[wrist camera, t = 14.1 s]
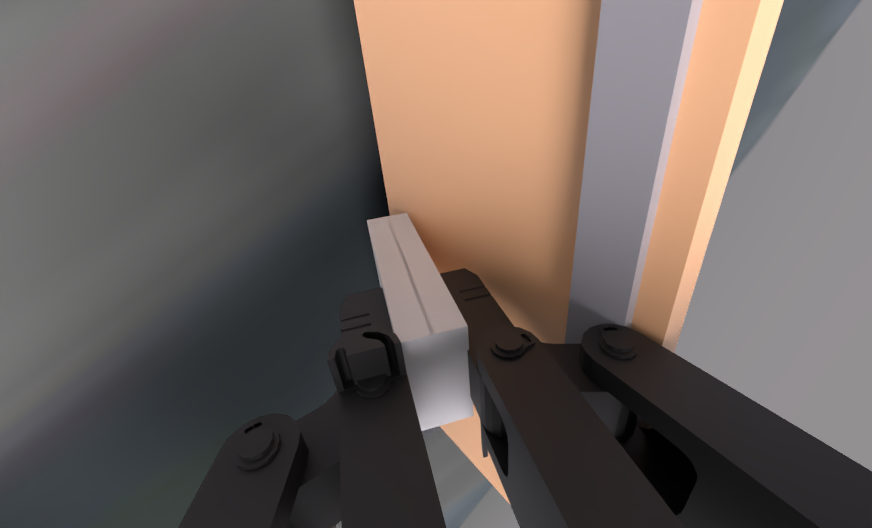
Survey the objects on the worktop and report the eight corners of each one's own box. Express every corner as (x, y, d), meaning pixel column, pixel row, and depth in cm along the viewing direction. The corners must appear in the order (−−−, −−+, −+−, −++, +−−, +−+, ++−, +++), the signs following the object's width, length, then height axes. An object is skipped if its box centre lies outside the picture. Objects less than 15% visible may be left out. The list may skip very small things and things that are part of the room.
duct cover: (433, 398, 20) (417, 409, 19) (363, -97, 10) (326, -103, 9) (604, 576, 13) (585, 601, 12) (970, -601, 3) (957, -753, 2)
